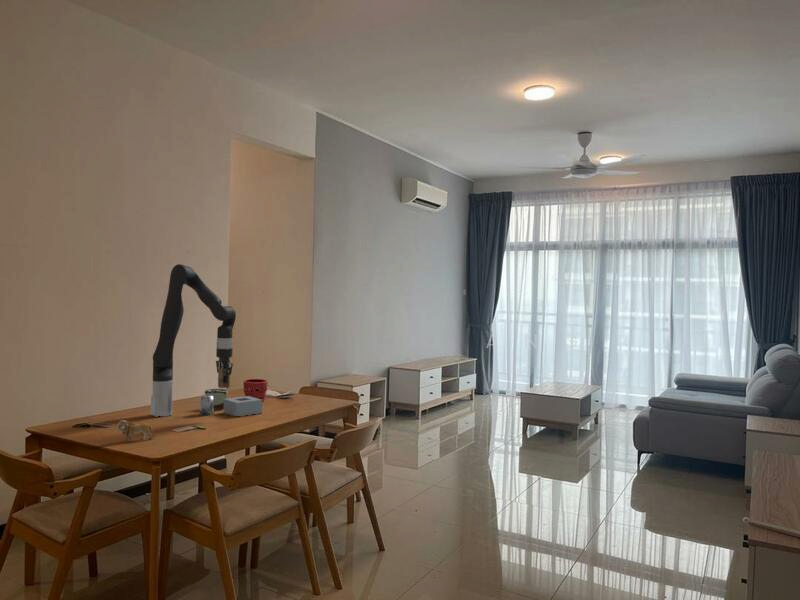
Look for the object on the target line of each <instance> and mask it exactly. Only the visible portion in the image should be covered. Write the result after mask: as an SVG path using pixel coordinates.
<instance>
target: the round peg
mask: <svg viewBox="0 0 800 600" xmlns="http://www.w3.org/2000/svg"><path fill="white" fill-rule="evenodd" d="M214 411H215V409H214V396H213V395H206V394H203V395H200V396H199V415H200V414H202V415H201V416H210V415H209V414H213V415H214V414H215V413H214Z"/></svg>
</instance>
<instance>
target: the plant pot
mask: <svg viewBox="0 0 800 600" xmlns="http://www.w3.org/2000/svg"><path fill="white" fill-rule="evenodd" d="M267 389H268V380H266V379H265V378H264V379H263V378H261V379H260V378H249V379H244V380H243V393H244V397H245V396H250V397H254V398H257V399H261V400H262V401H263V402H264V401H265V400H266V397H265V396H266V393H267V391H268V390H267Z"/></svg>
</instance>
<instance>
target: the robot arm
mask: <svg viewBox="0 0 800 600" xmlns="http://www.w3.org/2000/svg"><path fill="white" fill-rule="evenodd" d="M184 285H186V286H188V287H189V288H191V289H192V290H193V291H194V292H195V293H196V295H197V296H198V298H199V301H201V302H202V303H203V305H205V306H206V307H207V308H208V309H209V310H210V312H211V314H212V316H213V317H214V318H215V319H216V320H217V321H221V322H222V323H221V325H219V326H218V327H217V332H216V333H217V336H216V337H217V338H216V350H215V351H216V354H215V355H216V356H215V357H216V358H218V360H215V364H216V373H218V369H221V368H222V369H223V374H224V379H223V383H224V384H226V383H228V375H230V376H231V375H232V370H233V365H234V363H233V362H231V361H230V360H231V359H230V358H233V353H234V352H233V346H234V345H233V344H234V342H233V330H234V326H235V322H236V319H237V318H236V317H237V314H236V313H237V312H236V310H235V307H233V306H230V305H226V306H225V305H224V306H223V305H222V299H221V298H220V297H219V296H218V295H217V294H216V293H215V292H214V291H213V290H211V288H209V287H208V285H206V284H205V282H204V281H203V280H202V279H201V277H200V276H199V274H198V273H197V272H196V271H195V270H194V269H193V267H192V266H188V265H185V264H180V263H179V264H176V265H174V266H173V268H172V269H171V272H170V276H169V284H168V291H167V297H166V300H165V305H164V309H163V312H162V317H161V322H160V327H159V328H160V329H159V330H160V331H159V338H158V342H157V344H156V347H155V350H154V353H153V355H152V395H150V415H151V416H152V417H157V418H158V416H160V418H162V417H169V415H170V416H173V392H174V391H173V388H174V387H173V383H174V382H173V380H174V379H173V378H174V375H173V374H174V349H175V348H174V346H175V342H176V339H177V337H178V333H179V331H180V328H181V324H182V320H183V316H184V312H185V310H184V302H183V298H182V297H183V296H182V292H183V287H184ZM229 370H230V371H229ZM225 371H226V372H225ZM161 416H162V417H161Z"/></svg>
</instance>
